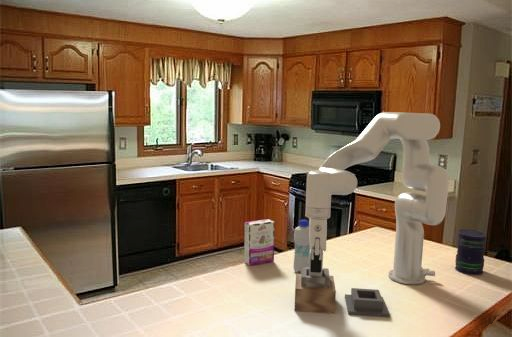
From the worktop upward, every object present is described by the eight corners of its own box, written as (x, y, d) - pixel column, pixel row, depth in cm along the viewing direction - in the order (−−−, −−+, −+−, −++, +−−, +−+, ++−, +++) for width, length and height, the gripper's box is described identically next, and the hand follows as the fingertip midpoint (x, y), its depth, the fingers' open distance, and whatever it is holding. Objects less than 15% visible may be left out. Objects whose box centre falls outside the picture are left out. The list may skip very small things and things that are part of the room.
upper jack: (332, 296, 141) (333, 266, 140) (334, 313, 129) (336, 281, 128) (295, 293, 142) (296, 264, 141) (294, 310, 131) (295, 278, 129)
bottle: (310, 269, 165) (312, 217, 162) (311, 275, 158) (313, 222, 156) (292, 268, 166) (294, 217, 163) (292, 274, 159) (294, 221, 156)
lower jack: (382, 299, 139) (383, 287, 139) (389, 317, 128) (390, 304, 127) (344, 297, 141) (345, 285, 140) (348, 314, 129) (349, 301, 128)
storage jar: (455, 272, 164) (458, 234, 162) (454, 264, 173) (457, 228, 171) (484, 277, 161) (488, 238, 159) (481, 268, 170) (485, 231, 168)
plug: (321, 279, 137) (322, 243, 135) (321, 284, 133) (323, 247, 131) (308, 279, 137) (309, 242, 135) (308, 284, 133) (310, 246, 132)
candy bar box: (268, 257, 176) (269, 218, 174) (274, 261, 172) (275, 221, 170) (243, 261, 171) (244, 221, 169) (248, 266, 167) (249, 224, 165)
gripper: (332, 219, 123) (329, 280, 126) (328, 206, 140) (326, 260, 142) (305, 217, 124) (303, 278, 127) (305, 205, 140) (303, 259, 143)
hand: (315, 268), depth 134 cm, fingers closed on plug, 4 cm apart
